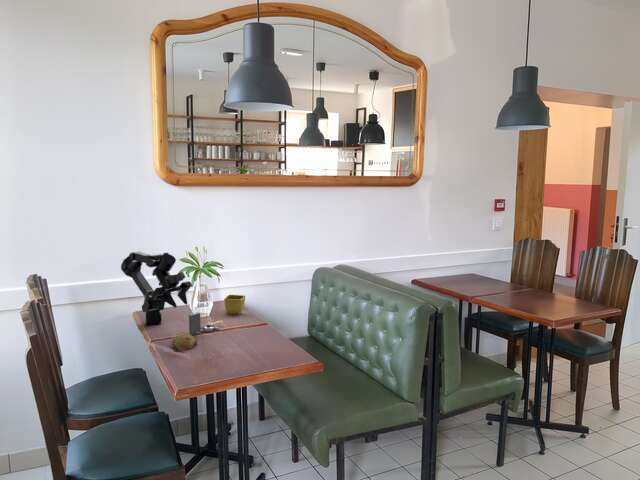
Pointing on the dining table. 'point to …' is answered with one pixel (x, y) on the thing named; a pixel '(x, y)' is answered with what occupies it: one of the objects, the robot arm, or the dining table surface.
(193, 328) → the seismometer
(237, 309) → the flower pot
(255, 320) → the dining table surface
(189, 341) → the mottled green brown ball
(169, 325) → the dining table surface
